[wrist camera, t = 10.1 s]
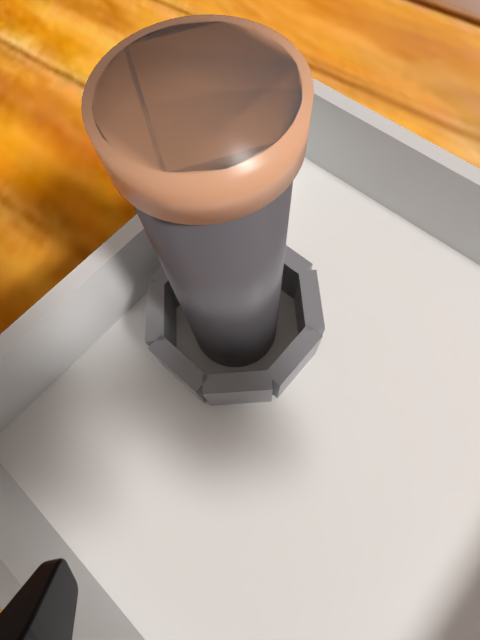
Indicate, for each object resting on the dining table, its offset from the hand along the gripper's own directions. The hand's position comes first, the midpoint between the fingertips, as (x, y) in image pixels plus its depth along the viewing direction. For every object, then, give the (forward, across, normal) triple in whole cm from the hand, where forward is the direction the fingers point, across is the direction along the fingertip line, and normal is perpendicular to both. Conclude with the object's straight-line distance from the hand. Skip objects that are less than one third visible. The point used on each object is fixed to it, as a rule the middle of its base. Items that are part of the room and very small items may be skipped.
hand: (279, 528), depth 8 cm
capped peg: (+12, 0, +1) cm, 12 cm away
